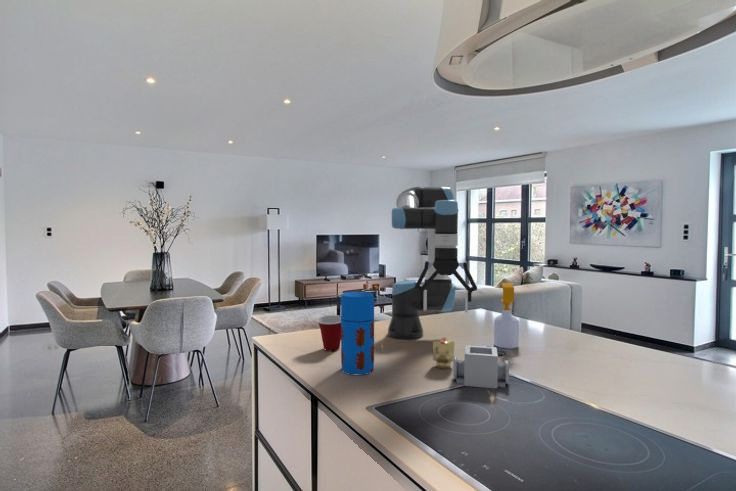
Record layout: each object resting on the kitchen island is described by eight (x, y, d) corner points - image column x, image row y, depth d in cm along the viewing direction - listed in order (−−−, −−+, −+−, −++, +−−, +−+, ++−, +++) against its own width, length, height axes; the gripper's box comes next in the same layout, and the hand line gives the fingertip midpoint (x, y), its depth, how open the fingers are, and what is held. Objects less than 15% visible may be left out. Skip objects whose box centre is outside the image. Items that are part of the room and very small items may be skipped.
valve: (453, 370, 141) (453, 343, 140) (431, 369, 142) (432, 341, 142) (454, 364, 147) (454, 337, 147) (433, 362, 149) (434, 336, 149)
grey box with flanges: (452, 384, 129) (453, 353, 128) (454, 373, 138) (454, 344, 137) (509, 389, 125) (509, 357, 124) (507, 378, 134) (507, 348, 133)
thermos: (379, 367, 144) (379, 292, 143) (365, 377, 135) (365, 297, 133) (350, 362, 149) (350, 290, 148) (335, 372, 139) (334, 295, 138)
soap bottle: (515, 342, 174) (516, 282, 172) (520, 349, 164) (522, 285, 163) (492, 342, 174) (493, 281, 173) (496, 348, 165) (497, 284, 164)
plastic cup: (311, 351, 162) (311, 319, 162) (325, 344, 172) (325, 314, 172) (337, 354, 158) (337, 322, 157) (350, 346, 168) (350, 316, 167)
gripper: (406, 247, 142) (406, 311, 143) (485, 248, 136) (484, 314, 137) (410, 246, 150) (409, 306, 151) (484, 246, 144) (483, 310, 145)
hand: (445, 310), depth 144 cm, fingers open, 13 cm apart
